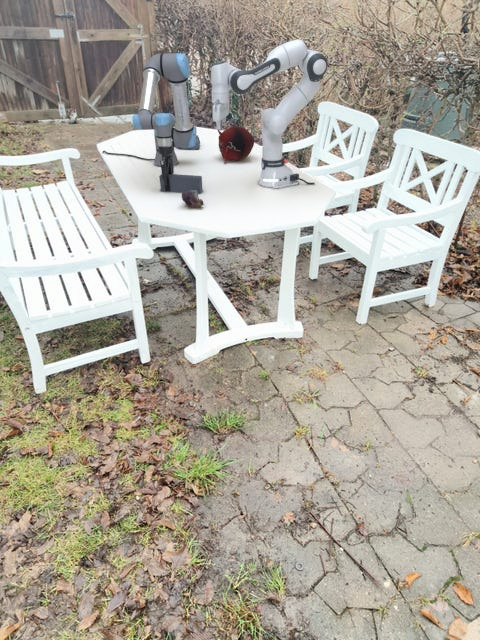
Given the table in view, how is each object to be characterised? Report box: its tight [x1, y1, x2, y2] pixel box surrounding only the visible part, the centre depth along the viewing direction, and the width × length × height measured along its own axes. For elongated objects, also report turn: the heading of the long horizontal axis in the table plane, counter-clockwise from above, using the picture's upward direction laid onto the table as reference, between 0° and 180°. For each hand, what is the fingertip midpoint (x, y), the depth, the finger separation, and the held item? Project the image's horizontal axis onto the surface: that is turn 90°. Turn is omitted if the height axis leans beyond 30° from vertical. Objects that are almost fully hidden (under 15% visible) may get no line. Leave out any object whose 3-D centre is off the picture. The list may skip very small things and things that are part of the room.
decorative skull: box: [217, 125, 255, 165], centre depth 297 cm, size 21×24×25 cm
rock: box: [181, 190, 205, 208], centre depth 227 cm, size 12×9×10 cm
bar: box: [159, 173, 203, 195], centre depth 247 cm, size 23×5×8 cm, turn 77°
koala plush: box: [177, 120, 201, 150], centre depth 324 cm, size 17×18×20 cm
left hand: (169, 189), depth 250 cm, fingers closed on bar, 5 cm apart
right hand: (221, 127), depth 234 cm, fingers open, 8 cm apart
